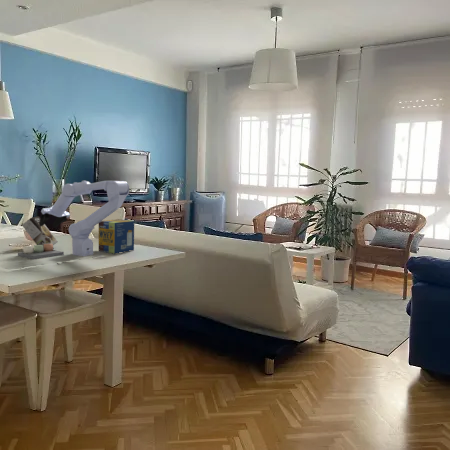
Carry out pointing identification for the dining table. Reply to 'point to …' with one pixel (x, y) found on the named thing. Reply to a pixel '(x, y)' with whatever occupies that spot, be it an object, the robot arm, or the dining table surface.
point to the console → (41, 254)
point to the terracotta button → (48, 247)
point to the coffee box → (39, 232)
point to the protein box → (116, 236)
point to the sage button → (38, 248)
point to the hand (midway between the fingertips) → (47, 225)
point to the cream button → (28, 250)
